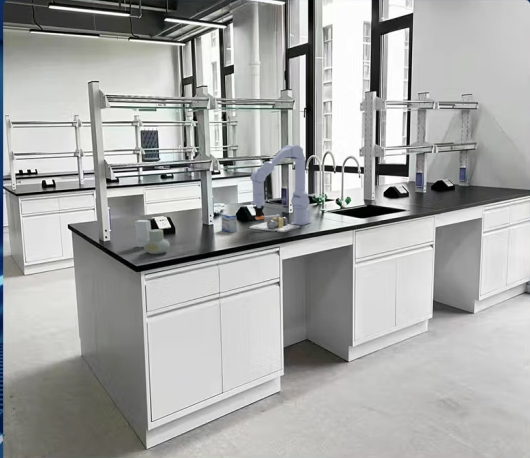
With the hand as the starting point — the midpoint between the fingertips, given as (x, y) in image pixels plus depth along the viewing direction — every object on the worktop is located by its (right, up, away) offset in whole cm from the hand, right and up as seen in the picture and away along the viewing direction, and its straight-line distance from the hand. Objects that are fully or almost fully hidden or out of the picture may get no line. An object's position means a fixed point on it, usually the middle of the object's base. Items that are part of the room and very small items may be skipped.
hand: (258, 219), depth 257 cm
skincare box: (-52, -13, -33) cm, 64 cm away
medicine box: (-16, -6, -2) cm, 17 cm away
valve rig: (+9, -4, +4) cm, 10 cm away
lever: (+5, +1, 0) cm, 5 cm away
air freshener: (-44, -16, -46) cm, 65 cm away
